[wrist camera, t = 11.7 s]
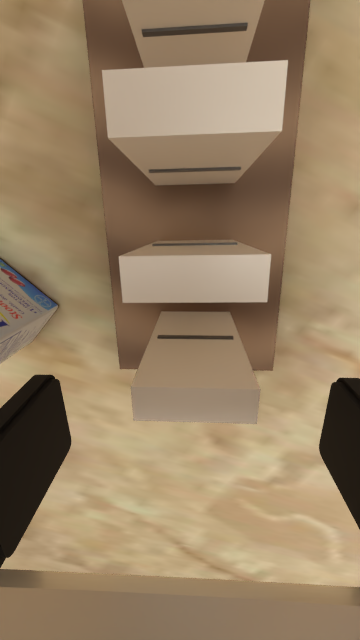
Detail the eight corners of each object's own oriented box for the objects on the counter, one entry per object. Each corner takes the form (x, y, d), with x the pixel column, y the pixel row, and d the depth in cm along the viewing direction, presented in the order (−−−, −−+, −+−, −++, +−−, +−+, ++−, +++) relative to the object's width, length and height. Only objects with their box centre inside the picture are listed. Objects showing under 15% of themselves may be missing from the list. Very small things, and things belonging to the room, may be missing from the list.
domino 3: (157, 239, 19) (118, 253, 9) (232, 238, 18) (271, 250, 9) (159, 266, 19) (122, 305, 10) (231, 265, 19) (267, 305, 9)
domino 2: (154, 154, 17) (101, 65, 7) (236, 152, 17) (288, 55, 7) (155, 187, 18) (108, 141, 8) (234, 185, 17) (281, 135, 8)
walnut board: (76, -130, 14) (66, -161, 13) (318, -153, 13) (329, -188, 12) (123, 361, 23) (120, 368, 22) (268, 363, 22) (272, 370, 21)
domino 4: (161, 310, 20) (130, 384, 11) (229, 310, 20) (260, 387, 10) (162, 332, 21) (133, 422, 11) (228, 333, 20) (256, 425, 11)
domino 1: (149, 52, 15) (75, -226, 6) (240, 47, 15) (315, -255, 6) (151, 92, 16) (86, -104, 6) (238, 87, 16) (304, -125, 6)
